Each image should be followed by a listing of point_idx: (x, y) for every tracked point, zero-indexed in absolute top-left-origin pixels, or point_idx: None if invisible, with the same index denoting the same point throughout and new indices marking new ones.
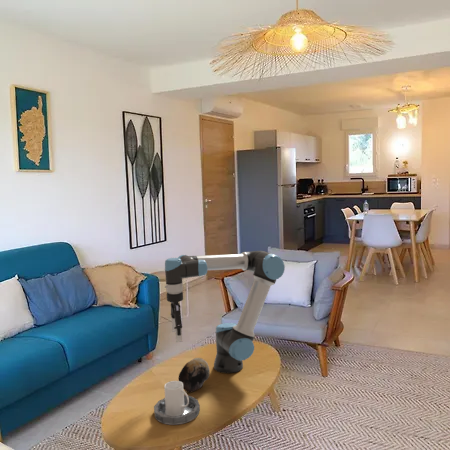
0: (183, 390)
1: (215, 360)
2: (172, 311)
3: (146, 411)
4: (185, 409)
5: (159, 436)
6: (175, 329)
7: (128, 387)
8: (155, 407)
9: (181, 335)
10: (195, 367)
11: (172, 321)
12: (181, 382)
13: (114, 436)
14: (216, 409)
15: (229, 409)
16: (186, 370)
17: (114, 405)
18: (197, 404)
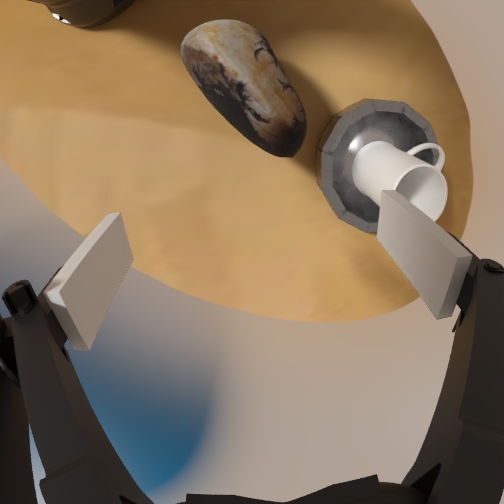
0: (441, 165)
1: (86, 13)
2: (125, 470)
3: (341, 243)
4: (377, 139)
5: (448, 216)
6: (432, 307)
7: (187, 292)
8: (372, 228)
9: (421, 217)
10: (283, 80)
11: (97, 322)
12: (414, 168)
13: (407, 298)
14: (392, 53)
15: (400, 22)
16: (302, 126)
17: (282, 314)
18: (399, 107)
